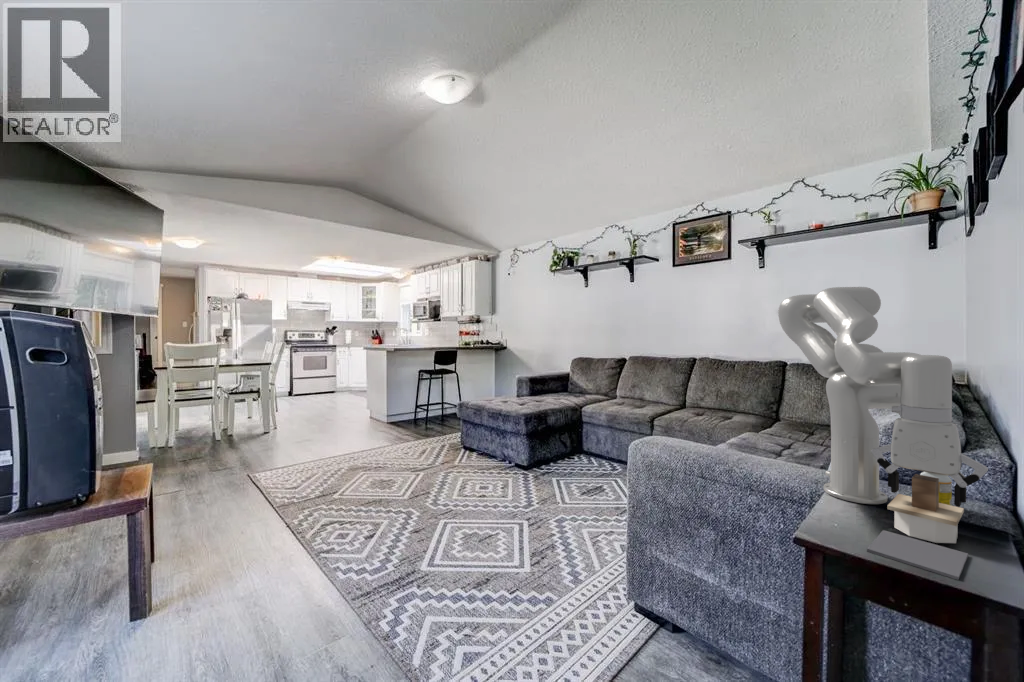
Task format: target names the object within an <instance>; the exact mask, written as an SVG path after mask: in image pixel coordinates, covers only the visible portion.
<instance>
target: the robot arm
mask: <svg viewBox="0 0 1024 682" xmlns="http://www.w3.org/2000/svg"><path fill="white" fill-rule="evenodd" d="M881 301H882V300H881V298H880V296H879V294H878V293H877V292H876V291H875V290H874V289H872V288H870V287H867V286H837V287H836V286H835V287H828V288H825V289H822V290H821V291H819V292H818V293H816V294H814V293H813V294H809V293H808V294H797V295H796V294H795V295H792V296H789V297H786V298H785V299H783V301H781V302H780V304H779V307H778V311H777V313H778V320H779V324H780V326H781V328H782V331H783V332H784V333H785V334H786V336H787V337H788V338H789V339H791V340H790V341H792V342H794V344H795V345H797V347H798V348H799V349H800V350H801V352H802V353H803V355H804V356H805V357H806V359H807V360H808V361H809V362H810V364H811V365H812V367H813V368H814V369H815V371H816V372H817V373H818V374H820V375H821V376H822V377H823V378H827V380H826V384H825V391H826V392H825V393H826V398H827V401H828V406H829V413H830V414H829V415H830V439H831V440H830V470H826V471H825V475H826V476H827V477H829V482H825V483H824V484H823V491H824V492H825V493H826V494H828V495H830V496H832V497H834V498H837V499H841V500H844V501H848V502H852V503H858V504H866V505H882V504H885V503H887V502H888V495H887V494H886V493H885V492H884V491H881V490H880V466H881V467H882V469H884V470H885V473H887V486H888V488H889V487H890V488H891V489H890V491H891V493H893V494H894V493H897V492H898V491H899V490H900V472H899V471H898V469H899V468H902V469H907V470H908V469H909V470H913V471H919V472H929V473H935V474H940V475H947V476H949V477H950V478H951V480H953V481H954V483H956V484H955V485H954V487H953V490H954V491H953V493H954V494H953V496H954V497H953V499H954V500H953V501H954V503H953V506H956V507H961V505H962V503H965V504H966V503H967V487H968V486H970V485H973V484H974V483H976V482H978V481H980V479H982V477H984V475H985V474H986V473H988V471H989V468H988V467H987V466H986V465H984V464H983V463H980V462H978V461H977V460H975V459H973V458H971V457H969V456H967V455H965V454H964V453H962V446H961V439H960V433H959V429H958V427H957V424H956V423H953V420H952V419H953V418H952V417H953V404H952V403H953V362H952V360H951V359H950V358H949V357H947V356H944V355H940V354H939V355H938V354H937V355H935V354H920V353H915V352H908V351H907V352H903V351H902V352H901V351H900V352H898V351H897V352H891V351H890V352H889V351H887V352H886V351H885V352H884V351H883V350H882V349H881V348H879V347H878V346H874V344H873V345H872V344H868V343H863V342H864V341H866V340H868V339H869V338H871V337H872V336H873V335H874V334H875V333H876V332H877V330H878V327H879V323H878V320H877V318H876V317H875V315H877V314H878V312H879V310H880V309H881V306H882V303H881ZM817 323H820V324H821V323H822V324H823V323H826V324H827V325H828V326H829V328H830V329H831V330H832V331H833V332H834V333H835V334H836V335H837V337H836V338H835V336H834V335H833V334H832V333H831V331H829V330H828V329H827V328H825V327H823V326H821V325H819V324H817ZM874 409H875V410H879V409H881V410H886V409H887V410H888V409H889V410H891V412H892V413H894V414H898V415H899V417H897V418H895V420H894V424H893V427H892V428H893V429H892V435H891V443H890V444H889V443H888V444H886V445H881V446H880V429H879V424H878V423H877V421H876V419H875V418H874V416H872V414H871V412H870V411H869V410H874ZM888 452H890V462H889V461H888V459H886V458H885V457H884V454H885V453H888ZM962 464H964V465H967V467H970V468H972V469H973V470H974V471H973V472H972V473H971V474H969V475H967V476H965V475H964V474H963V473H962V472H961V470H962Z"/></svg>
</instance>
